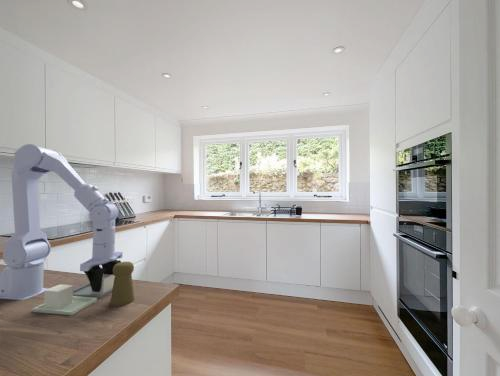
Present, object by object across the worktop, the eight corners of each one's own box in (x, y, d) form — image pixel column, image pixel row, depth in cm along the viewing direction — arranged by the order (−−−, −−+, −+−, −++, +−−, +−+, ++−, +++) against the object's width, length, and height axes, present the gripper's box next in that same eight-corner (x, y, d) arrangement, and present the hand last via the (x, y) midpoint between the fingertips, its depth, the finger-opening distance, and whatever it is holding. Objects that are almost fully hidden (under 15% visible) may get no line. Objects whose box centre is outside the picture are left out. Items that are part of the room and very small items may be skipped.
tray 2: (65, 297, 67) (65, 293, 67) (90, 286, 76) (90, 282, 76) (99, 300, 66) (99, 296, 66) (121, 288, 75) (121, 284, 75)
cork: (123, 308, 61) (125, 266, 62) (104, 306, 62) (105, 264, 63) (139, 299, 67) (140, 260, 67) (121, 296, 68) (122, 259, 69)
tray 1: (32, 313, 58) (32, 308, 58) (62, 299, 66) (62, 295, 66) (71, 317, 57) (71, 312, 57) (96, 302, 65) (97, 297, 65)
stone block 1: (43, 308, 60) (44, 290, 60) (59, 300, 64) (59, 284, 64) (58, 309, 59) (58, 291, 60) (72, 302, 64) (73, 285, 64)
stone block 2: (90, 294, 69) (91, 278, 69) (101, 288, 73) (101, 274, 73) (103, 295, 68) (103, 279, 68) (113, 289, 72) (114, 274, 73)
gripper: (97, 248, 63) (95, 299, 63) (131, 239, 78) (130, 280, 77) (74, 247, 64) (72, 297, 64) (112, 238, 79) (110, 279, 78)
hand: (102, 288), depth 71 cm, fingers closed on stone block 2, 4 cm apart
